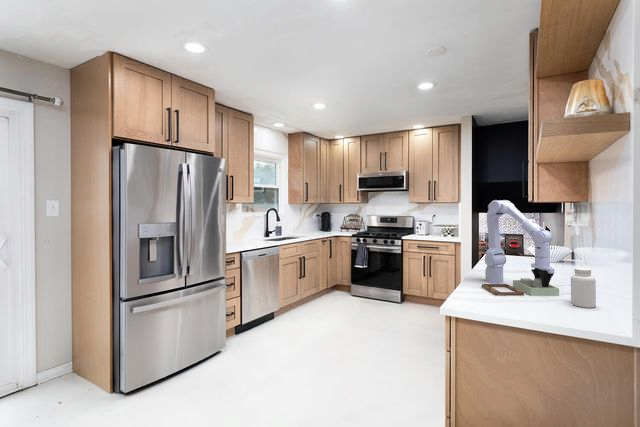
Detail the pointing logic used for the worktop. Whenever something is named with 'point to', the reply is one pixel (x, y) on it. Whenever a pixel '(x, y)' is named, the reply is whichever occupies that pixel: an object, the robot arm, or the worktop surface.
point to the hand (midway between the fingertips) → (542, 285)
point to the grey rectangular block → (527, 282)
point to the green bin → (536, 289)
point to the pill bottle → (583, 288)
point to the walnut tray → (497, 293)
